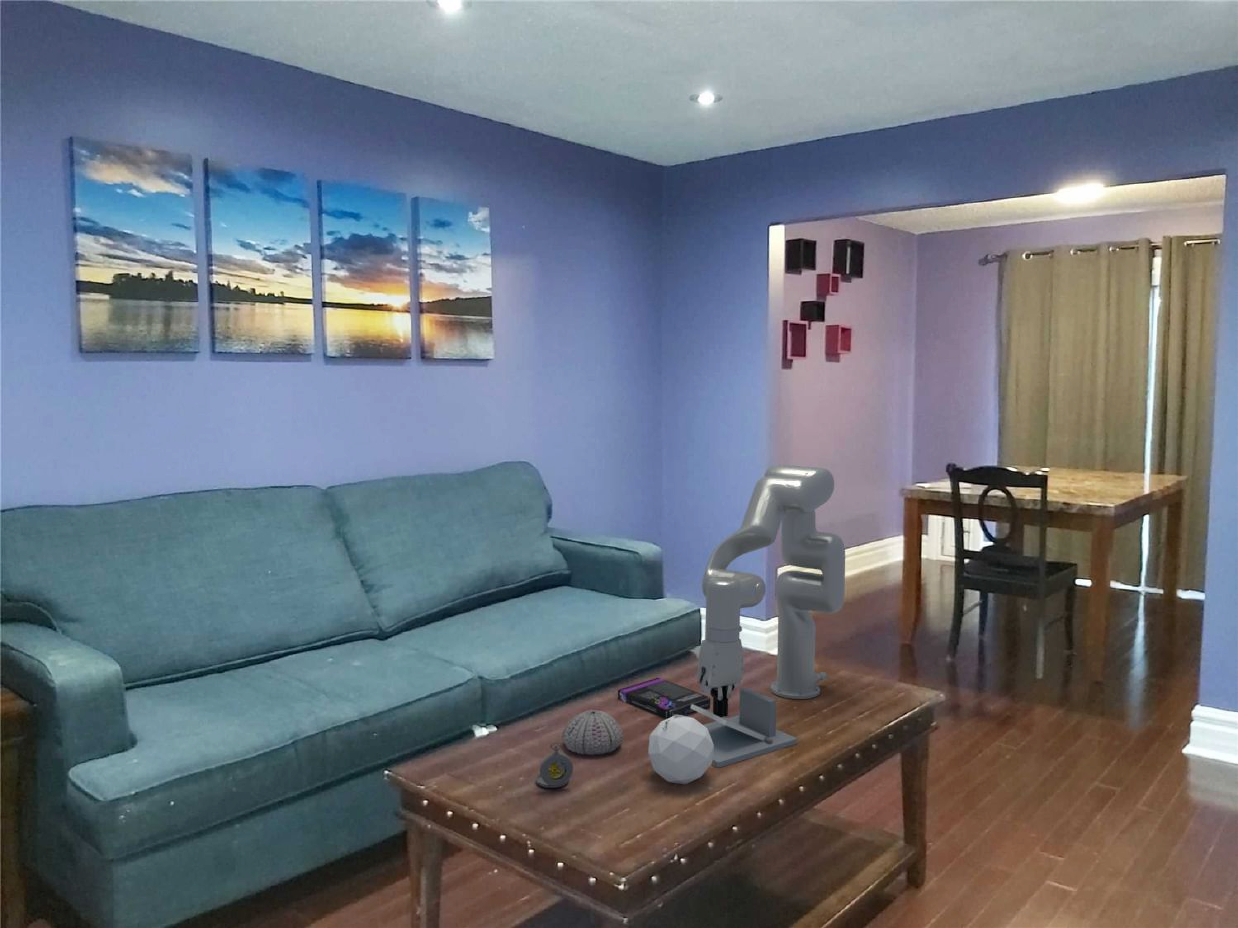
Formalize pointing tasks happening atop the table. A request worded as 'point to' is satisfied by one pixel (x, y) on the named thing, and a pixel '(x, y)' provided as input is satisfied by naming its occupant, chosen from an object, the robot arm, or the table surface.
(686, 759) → the geodesic sphere
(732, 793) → the table surface
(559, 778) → the pocket watch
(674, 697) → the box
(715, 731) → the board
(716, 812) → the table surface
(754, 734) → the tile
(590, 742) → the sea urchin shell
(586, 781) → the table surface
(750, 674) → the table surface
